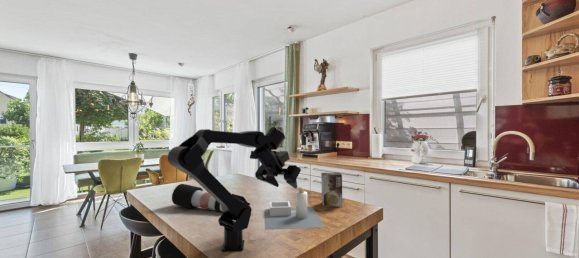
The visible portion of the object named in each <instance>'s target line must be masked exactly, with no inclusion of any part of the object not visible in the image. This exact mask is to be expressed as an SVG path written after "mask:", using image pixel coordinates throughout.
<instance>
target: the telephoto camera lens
mask: <svg viewBox="0 0 579 258" xmlns="http://www.w3.org/2000/svg"><path fill="white" fill-rule="evenodd" d="M203 189H204V188H203V187H202V188H201V187H200V186H194V185H191V184H186V183H180V184H178V185H177V186H176V187H175V188H174V189H173V191H172V193H171V201H172V203H173V204H174V205H176V206H180V207H183V208H188V209H192V210H195V209H197V208H201V209H204V210H205V209H206V210H213V211H217V212H222V213H223V210H222V207H221V204H220V203H219V202H218V201H217V200H216V199H214V198H213V197H212V196H211V195H210V194H209V193H208V192H207V191H205V190H203Z"/></svg>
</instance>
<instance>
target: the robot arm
mask: <svg viewBox="0 0 579 258" xmlns="http://www.w3.org/2000/svg"><path fill="white" fill-rule="evenodd" d="M285 139H286V135H285V133H283V132H282V131H281V130H279V129H278V128H277V127H276V126H272V127H270V129H269V130H268V132H267V133H266V134H264V132H263V131H261V130H245V131H238V132H236V131H235V132H234V131H223V130H212V129H209V128H207V129H199V130H197V131H196V132H195V133H194V134H193V135H192V136H190V137H188V138H187V139H186V140H184V141H183V142H181V143H180V144H179V145H177V146H174V147H172V148H171V149H170V151H168V155H167V162H168V164H169V165H171V166H172V167H174V169H177V170H178V171H180V172H182V173H184V174H186V175H188V176H190V177H191V178H192V179H193V180H194V181H195V182H197V184H199V186H201V187H202V189H204V191H205V192H207V193H209V194H210V195H211V196H212V197H213V198H214V199H216V200H217V201H218V202H219V203H220V204H221V207H222V210H223V212H222V214H221V215H220V217H219V218H218V220H217V221H218V224H219V226H220V227H223V231H224V232H223V239H224V240H223V244H222V247H221V252H236V251H243V250H244V246H245V242H246V241H245V240H244V237H243V236H244V235H243V234H244V233H243V231H244V230H246V229H248V227H249V224H250V219H251V216H252V209H253V208H252V207H251V203H250V202H248V201H247V199H246V197H244V196H242V195H239V194H235V193H231V192H230V191H229V190H228V189H227V188H226V186H224V185H223V184H222V183H221V182H220V181H219V180H218V179H217V178H216V177H215V175H213V174H212V173H211V171H210V170H208V169H207V167H206V165H205V161H204V159H203V157H202V156H203V155H204V154H205V153H206V152H207V149H208V148H209V146H210V145H211V143H214V144H234V145H235V144H236V145H239V146H241V147H245V148H253V150H251V151H250V154H249V159H251V160H258V162H259V163H260V166H259V167H258V168H257V170H256V171H255V175H254V177H255V178H256V179H257V180H260V181H261V182H264V183H267V184H269V185H271V186H273V187H277V188H279V185H280V184H279V182H278V180H277V178H276V177H279V175H281V176H283V180H284V181H285V183H286V184H288V185H289V186H291V187H292V188H294V189H295V190H296V189H297V188H298V182H297V179H298V176H299V175H300V173H301V171H302V169H301V167H300V165H297V164H296V165H295V164H291V165H290V164H289V165H288V166H287V167H285V166H286V162H287V161H289V160H290V155H289V151H288V150H282V151H281V150H280V151H276V150H278V148H279V147H280V146H281V145H282V143H283V142H284V141H285ZM254 148H255V149H254ZM284 167H285V168H284Z"/></svg>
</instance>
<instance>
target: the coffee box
mask: <svg viewBox="0 0 579 258" xmlns="http://www.w3.org/2000/svg"><path fill="white" fill-rule="evenodd" d="M320 174H321V205H322V206H323V207H340V208H341V209H343V174H342V173H341V172H321V173H320Z"/></svg>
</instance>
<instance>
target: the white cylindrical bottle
mask: <svg viewBox="0 0 579 258" xmlns="http://www.w3.org/2000/svg"><path fill="white" fill-rule="evenodd" d="M295 208H296V218H299V219H305V218H307V208H308V191H305V186H299V187H298V191H296V192H295Z"/></svg>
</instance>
